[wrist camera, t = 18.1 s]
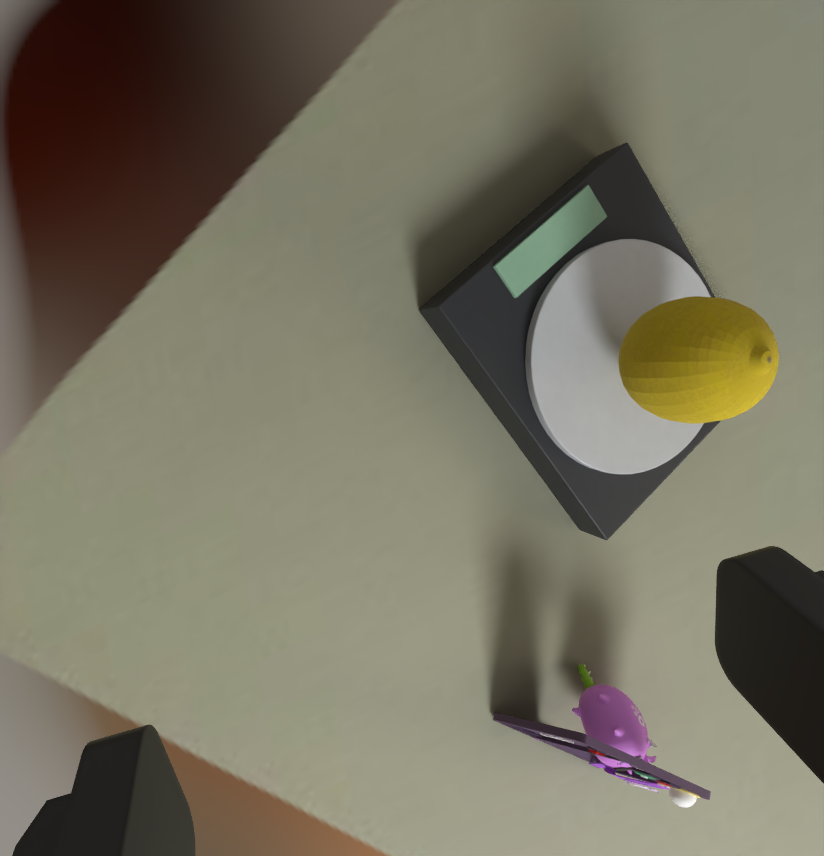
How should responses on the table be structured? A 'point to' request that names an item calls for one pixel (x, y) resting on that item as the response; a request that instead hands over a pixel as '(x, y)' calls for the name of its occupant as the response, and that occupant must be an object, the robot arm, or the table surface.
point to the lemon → (698, 359)
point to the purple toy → (610, 740)
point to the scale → (576, 337)
